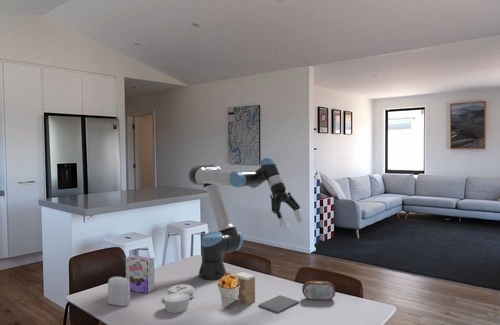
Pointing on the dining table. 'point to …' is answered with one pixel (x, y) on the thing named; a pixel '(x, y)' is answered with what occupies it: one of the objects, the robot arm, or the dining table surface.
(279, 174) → the robot arm
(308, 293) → the tin
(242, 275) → the oak block
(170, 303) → the ramekin
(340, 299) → the dining table surface
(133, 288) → the candy box
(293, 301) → the charcoal mat
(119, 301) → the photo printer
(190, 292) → the lid
